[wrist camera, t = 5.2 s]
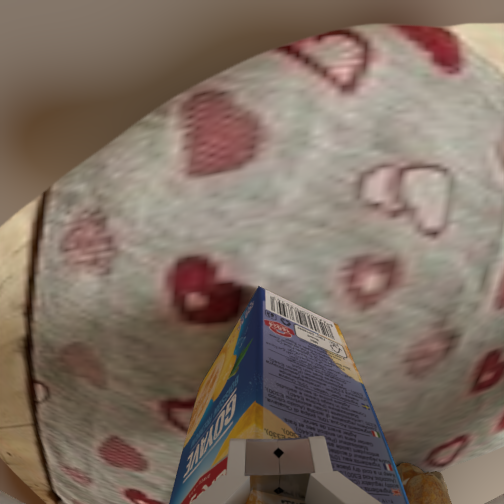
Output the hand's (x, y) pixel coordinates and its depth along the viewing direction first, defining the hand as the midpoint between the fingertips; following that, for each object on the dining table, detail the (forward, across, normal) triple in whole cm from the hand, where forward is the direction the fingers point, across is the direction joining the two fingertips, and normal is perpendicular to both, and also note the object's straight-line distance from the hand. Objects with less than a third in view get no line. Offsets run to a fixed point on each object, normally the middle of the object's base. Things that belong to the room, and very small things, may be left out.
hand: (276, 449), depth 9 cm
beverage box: (+15, 0, +6) cm, 16 cm away
